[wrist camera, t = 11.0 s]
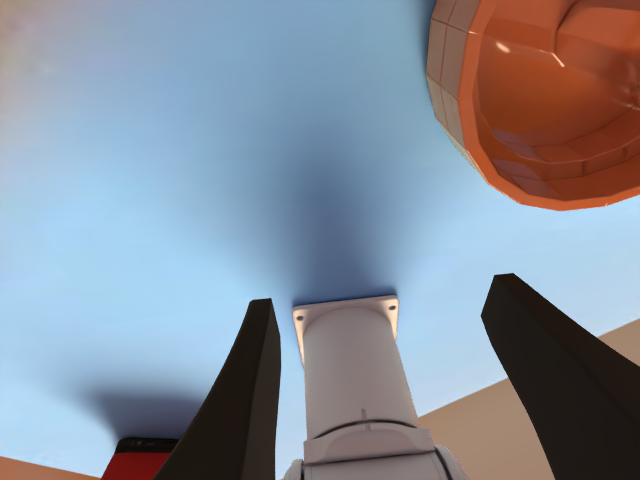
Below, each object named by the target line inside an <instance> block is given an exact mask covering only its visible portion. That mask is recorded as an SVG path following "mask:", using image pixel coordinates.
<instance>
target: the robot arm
mask: <svg viewBox="0 0 640 480" xmlns="http://www.w3.org/2000/svg"><path fill="white" fill-rule="evenodd" d="M392 305H393V306H392ZM398 312H399V299H398V297H397V296H395V295H389V296H380V297H371V298H362V299H353V300H344V301H335V302H326V303H318V304H309V305H300V306H295V307H294V308H293V309H292V315H293V320H294V325H295V329H296V334H297V339H298V344H299V349H300V354H301V359H302V364H303V369H304V378H305V401H306V425H307V440H306V441H304V461H303V459H297V460H294V461H293V462H292V465H291V467H290V468H289V469H288V470H287V472H286V473H285V476H284V480H469V478H468V476H467V474H466V472H465V470H464V468H463V466H462V465H461V463H460V462H459V460H458V459H457V458H456V457H455V456H454V455H453V454H451V453H450V451H449V450H448V449H447V448H446V447H444V446H442V445H433V441H432V438H431V435H430V431H429V429H428V428H422V429H421V428H420V425H419V421H418V418H417V414H416V411H415V407H414V404H413V400H412V397H411V393H410V390H409V386H408V383H407V379H406V376H405V372H404V369H403V365H402V361H401V358H400V354H399V351H398V347H397V344H396V337H397V325H398ZM481 318H482V321H483V324H484V326H485V329H486V332H487V335H488V337H489V340H490V342H491V345H492V347H493V349H494V351H495V353H496V354H497V356H498V358H499V360H500V362H501V364H502V366H503V368H504V370H505V372H506V373H507V375H508V377H509V379H510V381H511V383H512V385H513V386H514V388H515V390H516V392H517V394H518V396H519V398H520V400H521V402H522V403H523V405H524V407H525V409H526V411H527V413H528V415H529V417H530V419H531V421H532V423H533V426H534V428H535V430H536V433H537V435H538V437H539V440H540V442H541V445H542V447H543V449H544V452H545V454H546V457H547V459H548V462H549V465H550V467H551V469H552V472H553V475H554V477H555V480H640V367H639V366H638V365H636V364H635V363H633V362H631V361H630V360H628V359H627V358H625V357H624V356H622V355H621V354H619V353H618V352H616V351H615V350H613V349H612V348H610V347H609V346H608V345H606V344H605V343H604V342H602V341H601V340H599V339H598V338H596V337H595V336H594V335H592V334H591V333H589V332H588V331H587V330H585V329H584V328H583V327H581V326H580V325H579V324H577V323H576V322H575V321H573V320H572V319H571V318H569V317H568V316H567V315H566V314H564V313H563V312H562V311H560V310H559V309H558V308H557V307H555V306H554V305H553V304H552V303H550V302H549V301H548V300H546V299H545V298H544V297H543V296H541V295H540V294H539V293H538V292H536V291H535V290H534V289H533V288H532V287H530V286H529V285H528V284H527V283H525V282H524V281H523V280H521V279H520V278H519V277H518V276H516V275H515V274H514V273H510V274H500V275H494V278H493V281H492V284H491V287H490V290H489V293H488V296H487V299H486V301H485V304H484V307H483V310H482V313H481ZM280 375H281V344H280V333H279V329H278V325H277V321H276V316H275V312H274V308H273V304H272V299H271V298H268V299H258V300H252V301H251V302H250V303H249V306H248V309H247V312H246V315H245V317H244V320H243V323H242V325H241V328H240V330H239V333H238V335H237V337H236V340H235V342H234V344H233V346H232V348H231V351H230V353H229V355H228V357H227V359H226V361H225V363H224V365H223V367H222V369H221V371H220V373H219V375H218V377H217V379H216V381H215V383H214V385H213V386H212V388H211V390H210V392H209V394H208V396H207V397H206V399H205V401H204V402H203V404H202V406H201V408H200V409H199V411H198V413H197V414H196V416H195V417H194V419H193V421H192V422H191V424H190V425H189V427H188V428H187V430H186V431H185V433H184V434H183V436H182V437H181V439H180V440H179V442H178V443H177V445H176V446H175V448H174V449H173V451H172V452H171V454H170V455H169V457H168V458H167V459H166V461H165V462H164V464H163V465H162V466H161V468H160V469H159V470H158V472H157V473H156V474H155V476H154V477H153V478H152V480H275V440H276V426H277V414H278V401H279V388H280Z"/></svg>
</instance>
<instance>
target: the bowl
mask: <svg viewBox="0 0 640 480" xmlns="http://www.w3.org/2000/svg"><path fill="white" fill-rule="evenodd" d="M579 1H580V0H437V2H436V5H435V8H434V11H433V14H432V19H431V25H430V36H429V47H428V58H427V68H426V73H427V74H426V77H427V81H428V86H429V91H430V95H431V100H432V104H433V109H434V114H435V117H436V119H437V121H438V122H439V124H440V125H441V127H442V128H443V130H444V131H445V133H446V134H447V136H448V137H449V139H450V140H451V142H452V143H453V145H454V146H455V148H456V149H457V150H458V151H459V152H460V153H461V154H462V156H463V157H464V158H465V159H466V160H467V161H468V162H469V163H470V165H471V166H472V167H473V168H474V169H475V170H476V171H477V172H478V174H479V175H480V176H481V177H482V178H483V179H484V180H485V181H486V183H487V184H488V185H490V186H492V187H493V188H495V189H496V190H498V191H500V192H501V193H503V194H504V195H506V196H508V197H509V198H511V199H512V200H514V201H516V202H517V203H519V204H522V205H528V206H533V207H539V208H545V209H550V210H556V211H567V210H576V209H585V208H594V207H603V206H608V205H611V204H614V203H617V202H619V201H622V200H625V199H628V198H631V197H634V196H637V195H640V108H638V107H636V106H634V105H633V104H631V103H629V102H627V101H625V100H624V99H622V98H620V97H618V96H616V95H615V94H613V93H611V92H609V91H607V90H606V89H604V88H602V87H600V86H598V85H597V84H595V83H593V82H591V81H590V80H588V79H586V78H584V77H582V76H581V75H579V74H577V73H575V72H573V71H572V70H570V69H568V68H567V67H566V65H565V64H564V63H563V62H562V61H561V60H560V59H559V57H558V56H557V55H556V45H557V31H558V29H559V28H560V26H561V24H562V23H563V21H564V20H565V18H566V16H567V15H568V13H569V11H570V10H571V8H572V6H573V5H574V4H576V3H577V2H579Z"/></svg>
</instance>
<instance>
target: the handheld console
mask: <svg viewBox="0 0 640 480" xmlns="http://www.w3.org/2000/svg"><path fill="white" fill-rule="evenodd" d="M178 442H179V441H177V440H160V439H121V440H120V441H119V442H118V444H117V447H116V450H115V453H114V455H113V457H112V459H111V460H110V462H109V464H108V466H107V468H106V470H105V472H104V474H103V476H102V478H101V480H152V478H153V477H154V476H155V474H156V473H157V472H158V470H159V469H160V468H161V466H162V465H163V464H164V462H165V461H166V459H167V458H168V457H169V455H170V454H171V452H172V451H173V449H174V448H175V446H176V445H177V443H178Z"/></svg>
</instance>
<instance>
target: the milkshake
mask: <svg viewBox="0 0 640 480" xmlns="http://www.w3.org/2000/svg"><path fill="white" fill-rule="evenodd" d="M556 55H557V56H558V57H559V59H560V60H561V61H562V62H563V63H564V64H565V65H566V67H567V68H568V69H570V70H572V71H573V72H575V73H577V74H579V75H581V76H582V77H584V78H586V79H588V80H590V81H591V82H593V83H595V84H597V85H598V86H600V87H602V88H604V89H606V90H607V91H609V92H611V93H613V94H615V95H616V96H618V97H620V98H622V99H624V100H625V101H627V102H629V103H631V104H633V105H634V106H636V107H638V108H640V0H580V1H579V2H577V3H576V4H574V5H573V6H572V8H571V10H570V11H569V13H568V15H567V16H566V18H565V20H564V21H563V23H562V24H561V26H560V28H559V29H558V31H557V45H556Z"/></svg>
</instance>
